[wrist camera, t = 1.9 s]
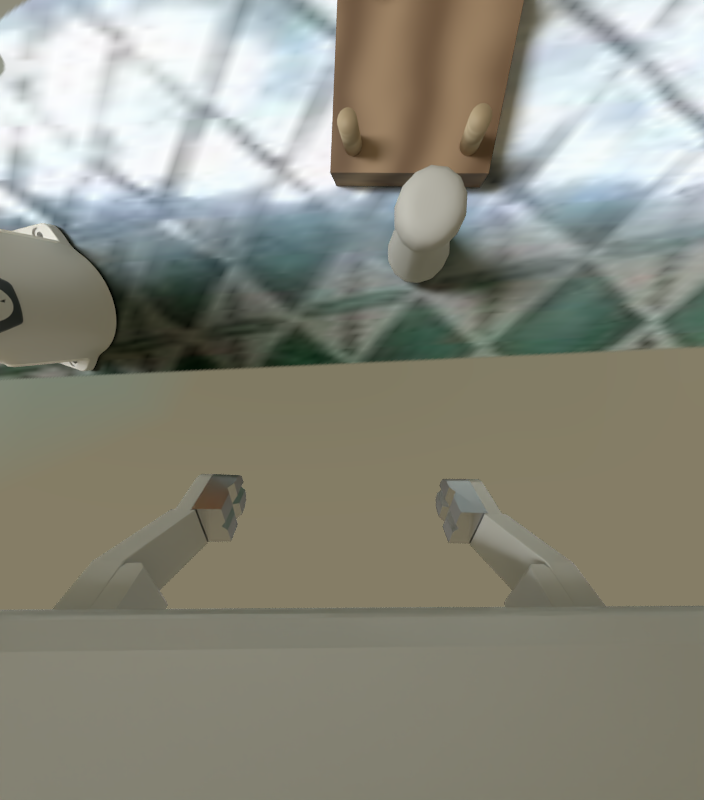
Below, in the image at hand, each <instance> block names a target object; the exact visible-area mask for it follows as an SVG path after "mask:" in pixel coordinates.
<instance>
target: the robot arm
mask: <svg viewBox="0 0 704 800" xmlns="http://www.w3.org/2000/svg"><path fill="white" fill-rule="evenodd" d="M115 331H116V311H115V306H114V302H113V299H112V296H111V294H110V291H109V289H108V287H107V285H106V283H105V281H104V280H103V278H102V276H101V275H100V274H99V272H98V271H97V270H96V268H95V267H94V266H93V265H92V264H91V263H90V262H89V261H88V260H87V259H86V258H85V257H84V256H82V255H81V254H80V253H78V252H77V251H76V250H75V249H74V248H73V247H72V246H71V245H70V244H69V242H68V241H67V239H66V238H65V236H64V235H63V234H62V232H61V231H60V230H59V229H58V228H57V227H56V226H54V225H51V224H45V223H40V224H36V225H32V226H28V227H25V228H21V229H17V230H14V231H8V230H3V229H0V363H2V364H5V365H7V366H9V367H19V366H30V365H41V364H51V363H61V364H63V365H66V366H69V367H72V368H75V369H78V370H81V371H88V370H93V369H94V367H95V365H96V363H97V359H98V357H99V355H100V354H101V353H102V352H104V351H105V350H106V349H107V348H108V347H109V346H110V344H111V343H112V341H113V338H114V335H115ZM242 484H243V479H242V476H240V475H221V474H201V475H199V476H198V477H197V478H196V480H195V481H194V483H193V484H192V485H191V487H190V488H189V490H188V492H187V493H186V494H185V496H184V497H183V499H182V500H181V502H180V503H179V505H178V506H177V508H176V509H171V510H170V511H168V512H167V513H165V514H163V515H162V516H160V517H159V518H157V519H156V520H154V521H153V522H151V523H150V524H149V525H147V526H145V527H144V528H142V529H141V530H139V531H138V532H136V533H135V534H133V535H132V536H130V537H129V538H127V539H125V540H124V541H122V542H121V543H119V544H118V545H116V546H115V547H113V548H112V549H110V550H109V551H107V552H106V553H104V554H103V555H101V556H100V557H98V558H97V559H95V560H93V561H92V562H91V564H90V565H89V566H88V567H87V568H86V569H85V571H84V572H83V573H82V574H81V575H80V577H79V578H78V579H77V580H76V582H75V583H74V584H73V585H72V586H71V588H70V589H69V590H68V591H67V592H66V593H65V595H64V596H63V597H62V598H61V599H60V601H59V602H58V603H57V604H56V605H55V607H54V608H53V609H52V610H0V800H704V606H617V607H616V606H613V607H612V606H611V607H610V606H609V607H606V606H605V604H604V603H603V602H602V600H601V599H600V598H599V596H598V595H597V594H596V592H595V591H594V590H593V588H592V587H591V586H590V584H589V583H588V582H587V580H586V579H585V578H584V576H583V575H582V574H581V572H580V571H579V570H578V569H577V567H576V566H575V564H574V563H572V562H571V561H570V560H569V559H567V558H566V557H564V556H563V555H562V554H560V553H559V552H557V551H556V550H555V549H554V548H552V547H551V546H549V545H548V544H547V543H545V542H544V541H542V540H541V539H540V538H538V537H537V536H536V535H534V534H533V533H532V532H530V531H528V530H527V529H526V528H525V527H523V526H522V525H521V524H519V523H518V522H516V521H515V520H514V519H512V518H511V517H510V516H508V515H507V514H502V513H501V511H500V509H499V508H498V506H497V505H496V503H495V501H494V500H493V498H492V497H491V495H490V493H489V492H488V490H487V489H486V487H485V485H484V484H483V482H482V481H481V480H479V479H467V480H466V479H443V480H442V481H441V483H440V487H441V491H440V492H438V493H437V497H436V509H437V512H438V515H439V517H440V518H441V519H442V520H443V521H444V524H443V529H444V532H445V534H446V537H447V540H448V542H449V543H468V544H470V545H471V547H473V549H474V550H475V551H476V552H477V553H478V554H479V555H480V556H481V557H482V558H483V559H484V560H485V562H486V563H487V564H488V565H489V566H490V567H491V568H492V569H493V570H494V571H495V572H496V573H497V574H498V576H499V577H500V578H501V579H502V580H503V581H504V582H505V583H506V584H507V585H508V586H509V587H510V588H511V590H512V592H511V593H510V594H509V596H508V597H507V598H506V600H505V602H504V605H505V607H428V608H427V607H426V608H425V607H424V608H421V607H420V608H419V607H417V608H254V609H253V608H248V609H247V608H245V609H166V608H167V601H166V600H165V598H164V597H163V595H162V593H161V592H160V589H161V588H162V587H163V586H164V585H166V583H167V582H168V581H170V579H171V578H173V577H174V576H175V575H176V574H177V573H178V572H179V571H180V570H181V569H182V568H183V567H184V566H185V565H186V564H187V563H188V562H189V561H190V560H191V559H192V558H193V557H194V556H195V555H196V554H197V553H198V552H199V551H200V550H201V549H202V548H203V547H204V546H205V545H206V544H207V542H219V541H220V542H221V541H231V540H232V538H233V535H234V532H235V530H236V528H237V520H236V519H237V518H238V517H239V516H240V515H242V513H243V510H244V507H245V502H246V492H245V489H243V488H242V487H241V486H242Z"/></svg>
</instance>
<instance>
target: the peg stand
mask: <svg viewBox="0 0 704 800" xmlns="http://www.w3.org/2000/svg"><path fill="white" fill-rule="evenodd" d="M523 2H524V0H337V24H336V49H335V73H334V97H333V122H332V146H331V171H330V173H331V175H332V177H333V179H334V181H335V184H336V186H401V187H403V185H404V184H405V183H406V182H407V181H408V180H409V179H410V178H411V177H412V176H413V174H414V173H415V172H417V171H419V170H422V169H424V168H426V167H428V166H430V165H436V166H445V167H449V168H450V169H451V170H453V171H454V172H455V173H457V174H458V175H459V176H461V178H462V181H463V183H464V186H465V187H479V188H480V186H481V185H482V183H483V181H484V180H485V178H486V177H487V175H488V174H489V169H490V164H491V159H492V154H493V149H494V145H495V140H496V135H497V130H498V125H499V120H500V115H501V110H502V105H503V100H504V96H505V91H506V86H507V81H508V76H509V71H510V66H511V61H512V56H513V51H514V47H515V42H516V37H517V32H518V27H519V22H520V17H521V12H522V7H523Z"/></svg>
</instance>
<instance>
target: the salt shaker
mask: <svg viewBox="0 0 704 800" xmlns="http://www.w3.org/2000/svg"><path fill="white" fill-rule="evenodd" d="M466 208H467V191H466V189H465V186H464V183H463V181H462V178H461V176H459V175H458V174H457V173H455V172H454V171H453V170H451V169H450V168H449V167H445V166H436V165H430V166H428V167H426V168H424V169H422V170H419V171H417V172H415V173H414V174H413V176H412V177H411V178H410V179H409V180H408V181H407V182H406V183H405V184H404V185H403V187H402V189H401V192H400V194H399V197H398V200H397V203H396V205H395V230H394V232H393V235H392V237H391V240H390V242H389V245H388V261H389V263H390V265H391V267H392V269H393V271H394V273H395V274H396V275H397V276H399V277H400V278H401V279H403V280H404V281H407V282H414V283H420V282H423V281H426V280H429V279H432V278H433V277H434V276H435V275H436V274H437V273H438V272H439V271H440V270H441V269H442V268H443V266H444V264H445V262H446V260H447V258H448V256H449V247H450V240H451V239H452V238H453V237H454V236H455V235H456V234H457V233H458V231H459V229H460V227H461V225H462V222H463V220H464V218H465V216H466Z"/></svg>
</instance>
